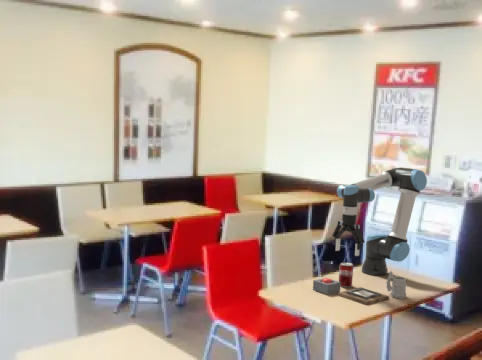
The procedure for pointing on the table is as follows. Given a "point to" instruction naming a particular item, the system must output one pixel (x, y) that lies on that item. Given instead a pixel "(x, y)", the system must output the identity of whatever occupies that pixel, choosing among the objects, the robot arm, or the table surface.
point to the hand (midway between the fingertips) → (347, 253)
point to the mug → (397, 286)
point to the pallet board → (363, 295)
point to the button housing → (326, 286)
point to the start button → (327, 280)
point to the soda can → (346, 274)
